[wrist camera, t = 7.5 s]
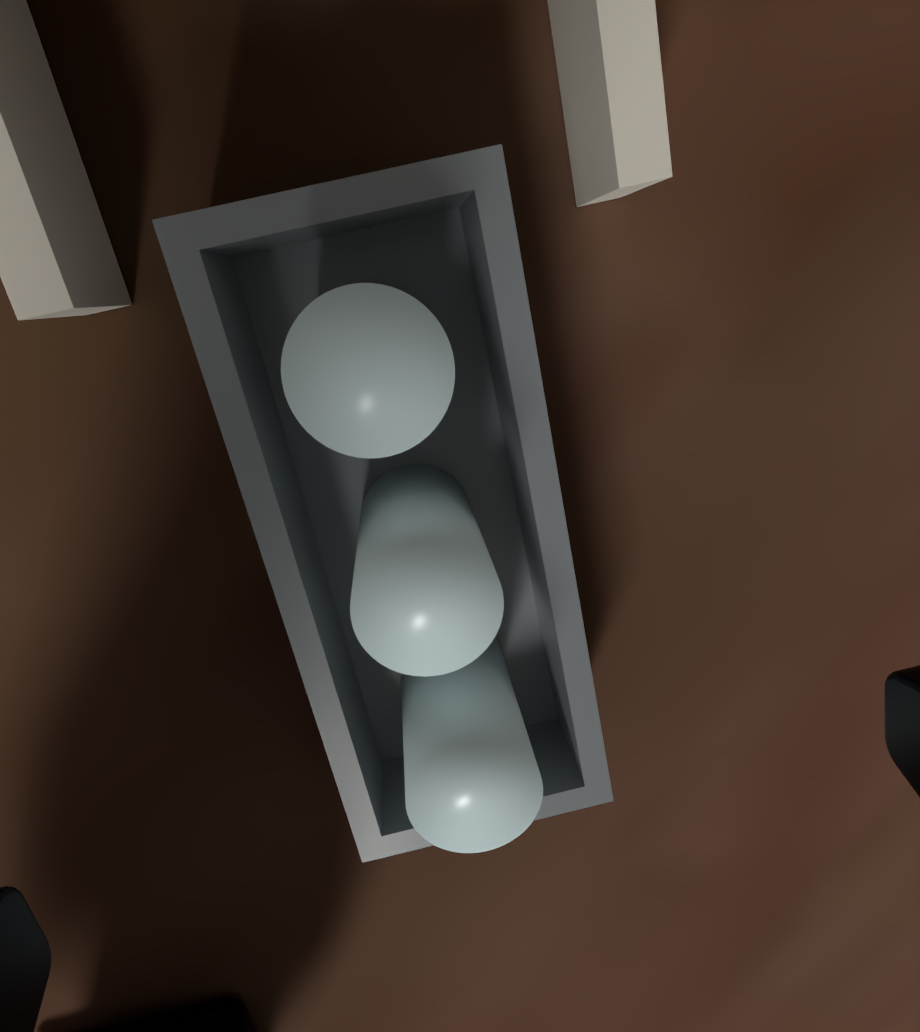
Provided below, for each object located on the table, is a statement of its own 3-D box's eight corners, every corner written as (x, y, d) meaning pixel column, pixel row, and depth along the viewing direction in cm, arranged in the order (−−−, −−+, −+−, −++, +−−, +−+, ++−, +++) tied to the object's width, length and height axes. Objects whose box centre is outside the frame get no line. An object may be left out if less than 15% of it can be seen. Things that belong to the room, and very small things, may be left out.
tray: (575, 714, 20) (648, 879, 14) (366, 765, 19) (358, 952, 14) (476, 175, 15) (527, 110, 10) (204, 235, 15) (96, 203, 9)
